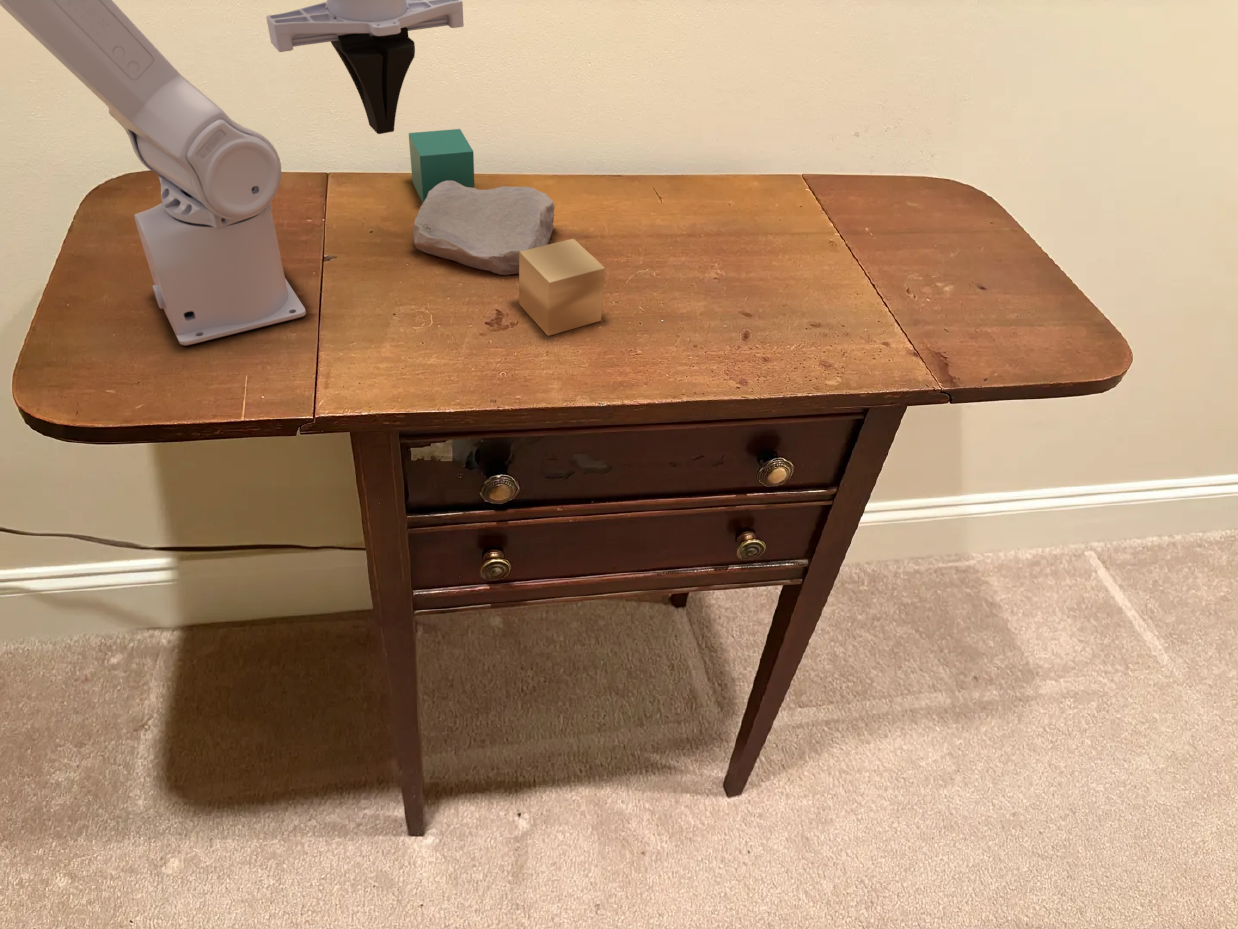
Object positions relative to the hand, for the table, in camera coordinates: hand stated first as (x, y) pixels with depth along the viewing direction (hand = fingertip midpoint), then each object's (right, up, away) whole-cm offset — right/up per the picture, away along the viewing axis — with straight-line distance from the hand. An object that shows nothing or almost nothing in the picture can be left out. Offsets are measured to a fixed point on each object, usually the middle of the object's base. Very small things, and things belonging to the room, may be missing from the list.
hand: (381, 128), depth 75 cm
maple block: (+14, -15, +1) cm, 21 cm away
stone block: (+7, -8, +8) cm, 13 cm away
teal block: (+2, -1, +15) cm, 15 cm away
